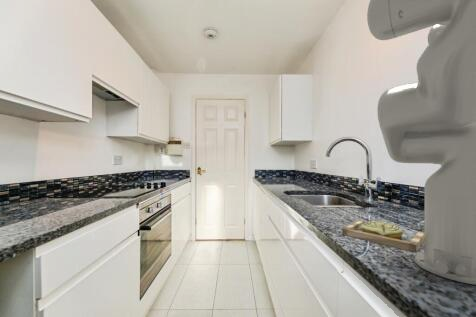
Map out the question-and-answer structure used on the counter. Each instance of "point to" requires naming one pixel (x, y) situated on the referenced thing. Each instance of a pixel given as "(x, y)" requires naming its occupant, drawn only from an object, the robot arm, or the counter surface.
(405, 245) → the wooden bay
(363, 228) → the yellow-green flat piece
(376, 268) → the counter surface
